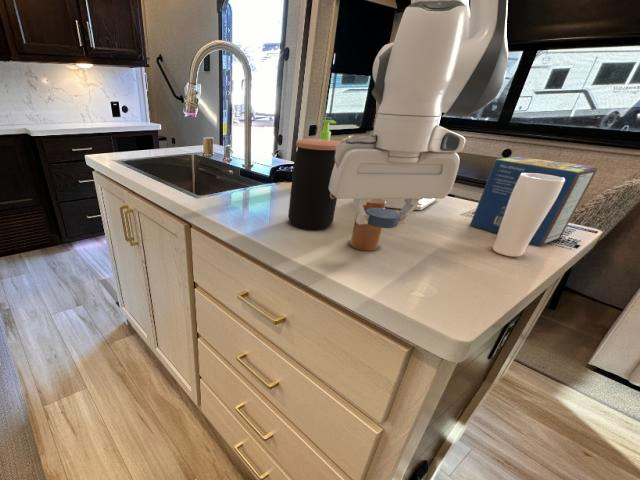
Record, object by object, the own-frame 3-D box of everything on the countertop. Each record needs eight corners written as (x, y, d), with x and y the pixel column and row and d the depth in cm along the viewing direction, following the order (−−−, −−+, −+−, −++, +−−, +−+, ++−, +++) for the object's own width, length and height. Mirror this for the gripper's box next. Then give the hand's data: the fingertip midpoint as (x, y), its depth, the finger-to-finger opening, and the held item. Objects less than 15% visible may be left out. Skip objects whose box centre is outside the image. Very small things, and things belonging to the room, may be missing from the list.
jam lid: (371, 228, 56) (374, 218, 56) (357, 216, 61) (360, 207, 60) (404, 228, 57) (407, 218, 56) (387, 216, 62) (390, 207, 61)
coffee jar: (332, 233, 76) (348, 146, 67) (285, 228, 78) (294, 143, 69) (331, 218, 85) (345, 140, 76) (289, 214, 87) (297, 138, 78)
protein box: (490, 219, 88) (517, 155, 80) (560, 239, 77) (600, 167, 69) (468, 225, 84) (494, 158, 76) (539, 246, 73) (579, 171, 64)
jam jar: (360, 239, 74) (370, 195, 69) (382, 247, 70) (394, 201, 65) (344, 244, 71) (353, 199, 66) (366, 252, 67) (378, 205, 62)
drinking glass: (511, 246, 72) (546, 173, 64) (534, 259, 67) (576, 181, 59) (480, 245, 72) (511, 172, 64) (500, 259, 66) (538, 179, 59)
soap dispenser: (316, 187, 114) (326, 120, 104) (306, 182, 120) (314, 119, 109) (331, 186, 116) (342, 120, 105) (321, 182, 121) (330, 119, 111)
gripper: (346, 137, 48) (330, 230, 55) (476, 140, 51) (444, 228, 58) (331, 132, 53) (317, 218, 61) (449, 135, 56) (423, 217, 63)
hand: (380, 223), depth 59 cm, fingers closed on jam lid, 5 cm apart
